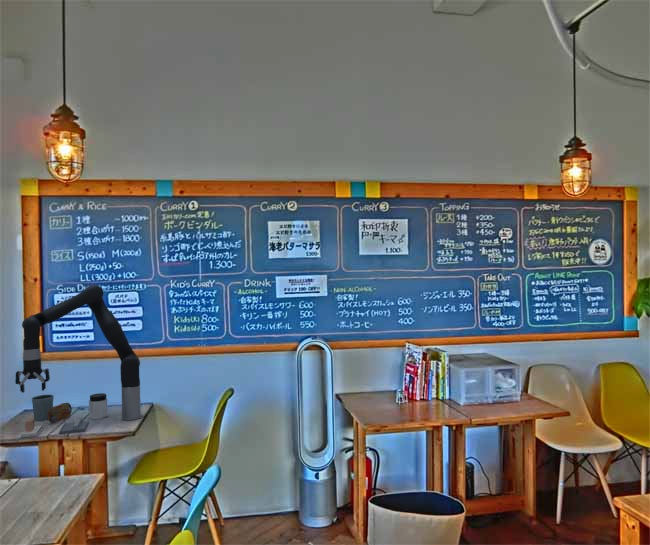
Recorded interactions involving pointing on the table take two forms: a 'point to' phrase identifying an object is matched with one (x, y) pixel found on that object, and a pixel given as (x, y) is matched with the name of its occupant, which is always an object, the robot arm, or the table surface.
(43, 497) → the table surface
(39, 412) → the blue pot
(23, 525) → the table surface
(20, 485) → the table surface
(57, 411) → the tin
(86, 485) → the table surface
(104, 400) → the jar
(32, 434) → the white plate with block
